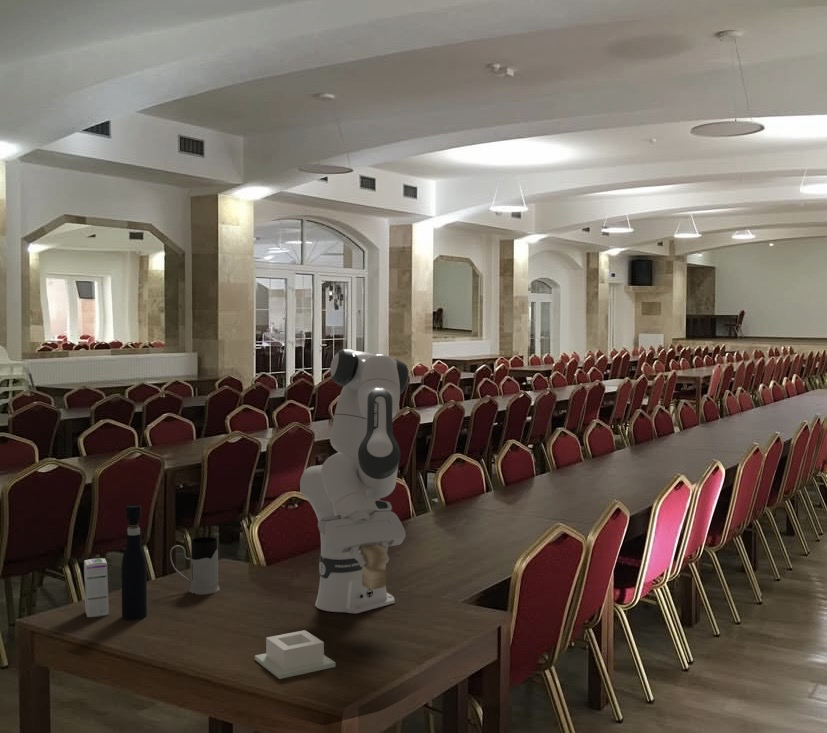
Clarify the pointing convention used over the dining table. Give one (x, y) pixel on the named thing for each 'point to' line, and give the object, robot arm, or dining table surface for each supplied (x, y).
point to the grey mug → (202, 565)
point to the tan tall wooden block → (374, 567)
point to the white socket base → (294, 654)
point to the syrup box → (96, 587)
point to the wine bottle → (134, 570)
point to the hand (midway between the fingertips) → (375, 563)
